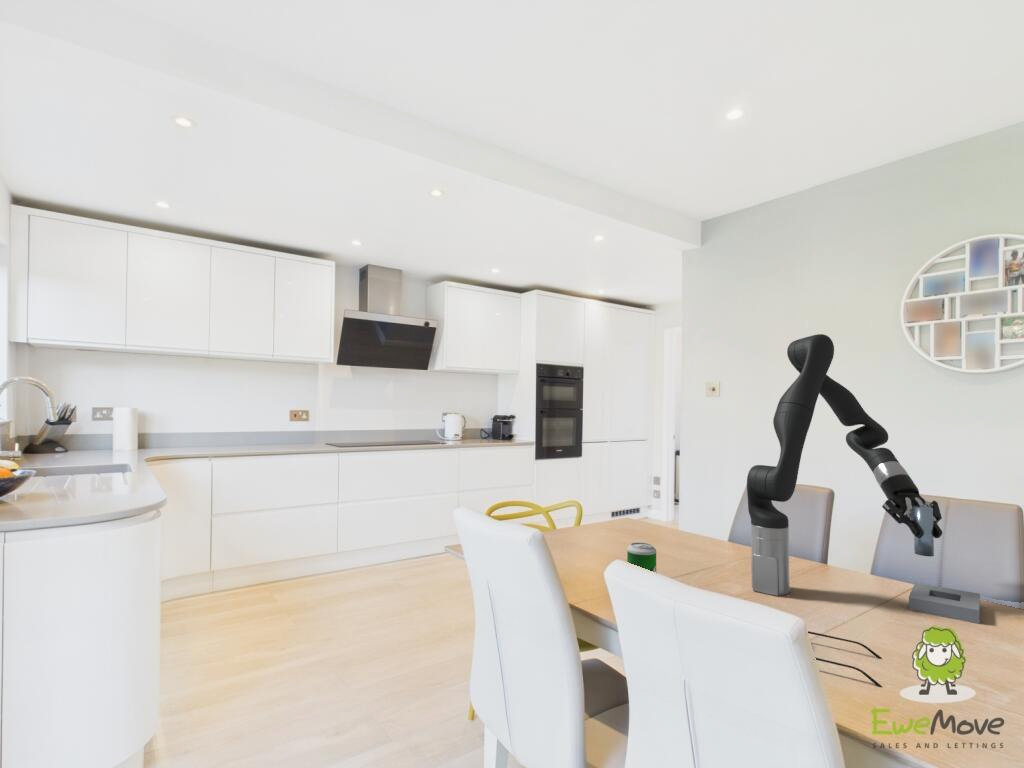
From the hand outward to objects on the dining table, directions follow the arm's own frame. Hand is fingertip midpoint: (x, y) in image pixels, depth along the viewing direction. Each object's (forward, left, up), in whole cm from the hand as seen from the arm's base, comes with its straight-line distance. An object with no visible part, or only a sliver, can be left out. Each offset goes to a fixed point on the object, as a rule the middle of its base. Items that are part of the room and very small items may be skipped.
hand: (929, 536), depth 136 cm
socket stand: (0, -3, -17) cm, 17 cm away
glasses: (-53, +12, -18) cm, 57 cm away
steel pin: (+1, +1, -5) cm, 5 cm away
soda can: (-41, +58, -17) cm, 74 cm away
